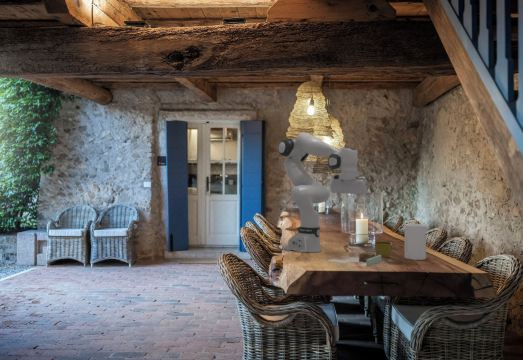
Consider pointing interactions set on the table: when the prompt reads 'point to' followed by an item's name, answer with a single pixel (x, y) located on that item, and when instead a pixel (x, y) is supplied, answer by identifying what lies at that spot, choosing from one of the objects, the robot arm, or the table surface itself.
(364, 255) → the walnut block
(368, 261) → the trap deck
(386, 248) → the flower pot
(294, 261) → the table surface
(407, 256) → the cup
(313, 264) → the table surface
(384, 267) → the table surface
